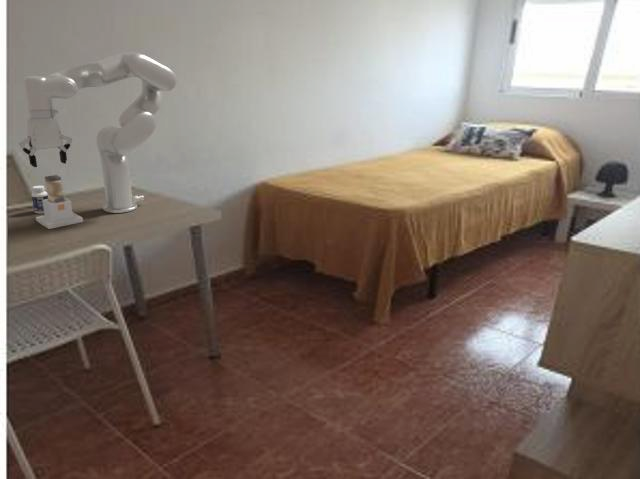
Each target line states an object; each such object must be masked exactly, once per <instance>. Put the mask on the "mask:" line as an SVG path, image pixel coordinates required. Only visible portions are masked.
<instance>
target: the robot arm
mask: <svg viewBox="0 0 640 479" xmlns="http://www.w3.org/2000/svg"><path fill="white" fill-rule="evenodd" d="M133 77H134V78H138V79H140V80H141V87H142V88H141V93H140V95H138V97H137V98H136V99H135V100H134V101H133V102H132V103H131V104H130V105H129V106H128V107H126V109H124V110H123V111H122V112H121V114H120V116H119V118H118V122H119V126H120V128H119V127H117V126H109V125H108V126H104V127H102V128H101V129H100V130H99V131H98V132H97V135H96V146H97V150H98V152H99V155H100V156H99V157H100V162H101V170H102V178H103V186H104V193H105V199H106V203H105V204H104V205H103V206H102V210H103V211H104V212H106V213H111V214H121V213H122V214H123V213H128V212H133V211H135V210H137V208H138V204H137V202H140V201H141V202H142V201H144V200H145V196H144V195H143V194H142V195H138V194H136V195H133V192H132V185H131V184H132V183H131V176H130V175H131V174H130V165H129V159H128V156H129V155H132V154H133V153H134V152H135V151H137V150H138V149H139V148H140V147H141V145H143V144H144V143H145V142H146V140H148V139H149V138H150V136H152V135H153V133H154V132H155V130H156V126H157V120H156V117H155V114H156V113H158V112H159V110H160V109H161V107H162V103H163V97H164V96H163V92H169V91H172V90H174V89H175V87H176V86H177V80H178V79H177V76H176V74H175V72H174V71H173V70H172V69H170V68H169V67H167V66H166V65H163V64H162V63H160V62H159V61H156V60H155V59H153V58H151V57H150V56H149V57H148V55H145V54H143V53H140V52H133V51H132V52H131V51H130V52H129V51H128V52H127V51H126V52H121V53H120V54H119V53H118V54H116V55H113V56H109V57H106V58H104V59H100V60H98V61H94V62H89V63H86V64H82V65H79V66H74V67H71V68H65V69H63V70H60V71H57V72H54V73H51V74H48V75H47V76H43V75H42V76H41V75H40V76H39V75H30V76H26V77H24V80H23V82H24V83H23V84H24V89H25V90H24V91H25V96H26V101H27V103H26V104H27V107H28V109H27V110H28V115H29V118H28V119H26V134H27V137H24V139H22V140H21V141H19V142H18V143H17V146H18V147H19V148H20V149H21V150H22V151H23V152H24V153H25V154H26V155H28V159H29V165H31V167H34V168H37V167H38V164H37V163H38V162H37V157H36V155H35V153H36V152H37V150H47V149H48V150H49V149H56V148H58V149H59V152H58V153H59V158H60V159H59V160H60V163H62V164H67V161H68V159H67V158H68V157H67V156H68V155H67V152H68V150H69V148H71V144H72V141H73V139H72V138H71V137H70V136H66V135H65V134H64V135H63V134H62V131H61V127H60V124H59V121H58V119H57V117H56V115H58V114H59V111H58V110H57V109H54V105H53V104H54V103H53V99H61V100H62V99H65V100H66V99H67V100H69V99H72V98H74V97H75V96H76V95H77V93H78V90H81V89H85V88H100V87H106V86H108V85H112V84H115V83H117V82H119V81H122V80H126V79H129V78H133ZM63 140H65V143H64V141H63ZM26 144H27V145H28V147H29V149H28V147H26V146H25V145H26Z"/></svg>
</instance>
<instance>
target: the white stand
mask: <svg viewBox="0 0 640 479" xmlns="http://www.w3.org/2000/svg"><path fill="white" fill-rule="evenodd" d="M55 201H56V202H54V203H51V202H50V201H49V200H48V199H44V200H42V202H43V208H44V213H43V215H38V216H35V221H36V222H37V223H39V224H40V225H42V226H43V227H45V228H46V229H48V230H51V229H56V228H61V227H65V226H70V225H75V224H79V223H84V218H83V217H82V216H80V215H78V214H77V213H75V212H74V211H73V207H72V206H73V205H72V200H71V199H69V198H67V197H65V196H64V200H63V198H61V199H56V200H55Z"/></svg>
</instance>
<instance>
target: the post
mask: <svg viewBox="0 0 640 479" xmlns="http://www.w3.org/2000/svg"><path fill="white" fill-rule="evenodd" d="M44 182H45V187H46V192H47V194H48V200H49V201H50V202H51V203H54V202H56V201H55V200H56V199H61V198H63V200H64V197H65V195H64V188H63V182H62V177H61V176H59V175H57V174H53V175H47V176H44Z"/></svg>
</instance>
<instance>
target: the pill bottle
mask: <svg viewBox="0 0 640 479" xmlns="http://www.w3.org/2000/svg"><path fill="white" fill-rule="evenodd" d="M45 190H46V189H45V186H44V185H34V186H32V193H31V199H32V205H33V207H32V208H33V211H34V213H35V214H45V213H44V208H43V202H42V200H44V199H48V194H47V191H45Z"/></svg>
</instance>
